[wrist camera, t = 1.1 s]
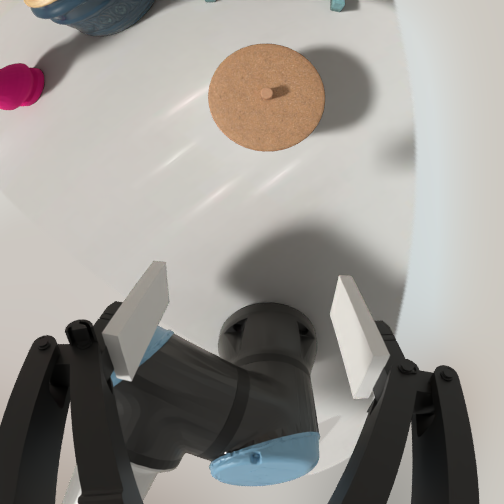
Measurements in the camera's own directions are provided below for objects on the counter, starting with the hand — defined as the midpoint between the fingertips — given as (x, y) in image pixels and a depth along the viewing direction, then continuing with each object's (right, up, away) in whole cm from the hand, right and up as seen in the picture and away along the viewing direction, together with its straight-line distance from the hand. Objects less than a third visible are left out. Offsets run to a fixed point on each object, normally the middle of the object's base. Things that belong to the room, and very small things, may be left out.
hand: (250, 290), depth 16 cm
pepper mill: (-34, +28, +12) cm, 45 cm away
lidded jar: (+2, +19, +14) cm, 24 cm away
